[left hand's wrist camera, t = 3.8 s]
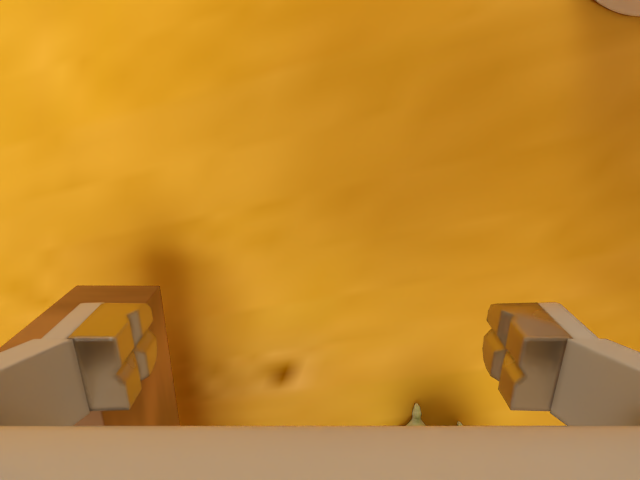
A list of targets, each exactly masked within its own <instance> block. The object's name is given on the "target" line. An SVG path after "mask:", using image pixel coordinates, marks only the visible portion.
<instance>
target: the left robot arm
mask: <svg viewBox="0 0 640 480" xmlns="http://www.w3.org/2000/svg"><path fill="white" fill-rule="evenodd" d="M595 1H596V2H598V3H599V4H601V5H602V6H604V7H606V8H608V9H610V10H612V11H615V12H617V13H621V14H625V15H630V16H640V0H595ZM152 322H153V316H152V311H151V307H150V306H149V305H148V304H144V303H104V302H97V303H80V304H79V305H78V306H77V307H76V308H75V309H74V310H72V311H71V312H70V313H69V314H68V315H67V316H66V317H65V318H64V319H62V320H61V321H60V322H59V323H58V324H57V325H56V326H55V327H54V328H52V329H51V330H50V331H49V332H48V333H47V334H46V335H45V336H44V337H42V338H41V339H32V340H30V341H27V342H25V343H22V344H20V345H17V346H15V347H12V348H10V349H7V350H5V351H2V352H0V480H640V352H638V351H635V350H633V349H630V348H628V347H625V346H623V345H620V344H618V343H615V342H613V341H610V340H608V339H599V338H598V337H596V336H595V335H594V334H593V333H592V332H591V331H590V330H589V329H588V328H586V327H585V326H584V325H583V324H582V323H581V322H580V321H579V320H578V319H577V318H575V317H574V316H573V315H572V314H571V313H570V312H569V311H568V310H567V309H565V308H564V307H563V306H562V305H561V304H559V303H556V302H549V303H503V304H492V305H491V306H490V308H489V310H488V315H487V322H488V323H489V325H490V326H491V328H492V329H491V330H490V331H489V332H488V333H487V334H486V335H485V336H484V341H483V358H484V363H485V366H486V369H487V371H488V372H489V374H490V376H492V377H493V378H495V379H496V380H498V381H499V387H498V390H499V391H500V393H501V395H502V396H503V398H504V400H505V401H506V403H507V405H508V406H509V408H510V410H528V411H550V413H551V414H552V415H554V416H555V417H556V418H558V419H559V420H560V421H562V422H563V423H564V424H566V425H567V426H73V425H74V424H76V423H77V422H78V421H80V420H81V419H83V418H84V417H85V416H87V415H88V414H89V413H90V411H111V410H130V408H131V406H132V405H133V403H134V401H135V400H136V398H137V396H138V395H139V393H140V391H141V390H142V387H141V381H142V380H144V379H145V378H147V377H148V376H150V374H151V372H152V370H153V369H154V366H155V362H156V358H157V340H156V336H155V335H154V334H153V333H152V332H151V331H150V330H149V329H148V328H149V326H150V325H151V323H152Z"/></svg>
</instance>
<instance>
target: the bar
mask: <svg viewBox="0 0 640 480" xmlns="http://www.w3.org/2000/svg"><path fill="white" fill-rule="evenodd" d="M97 302H104V303H144V304H148V305H149V306H150V307H151V311H152V316H153V322H152V323H151V325H150V326H149V328H148V329H149V330H150V331H151V332H152V333H153V334H154V335H155V336H156V340H157V358H156V362H155V366H154V369H153V370H152V372H151V374H150V376H148V377H147V378H145V379H144V380H142V381H141V387H142V390H141V391H140V393H139V395H138V396H137V398H136V400H135V401H134V403H133V405H132V406H131V408H130V410H111V411H90V413H89V414H88V415H87V416H85V417H84V418H83V419H81V420H80V421H78V422H77V423H76V424H74V425H73V426H180V424H179V417H178V410H177V403H176V396H175V389H174V382H173V375H172V368H171V361H170V354H169V347H168V340H167V333H166V327H165V320H164V313H163V306H162V299H161V292H160V286H76V287H75V288H73V289H72V290H71V291H70V292H68V293H67V294H66V295H65V296H63V297H62V298H61V299H60V300H58V301H57V302H56V303H55V304H54V305H52V306H51V307H50V308H49V309H47V310H46V311H45V312H44V313H42V314H41V315H40V316H39V317H37V318H36V319H35V320H34V321H32V322H31V323H30V324H29V325H28V326H26V327H25V328H24V329H23V330H21V331H20V332H19V333H18V334H16V335H15V336H14V337H13V338H11V339H10V340H9V341H8V342H6V343H5V344H4V345H3V346H2V347H0V352H2V351H5V350H7V349H10V348H12V347H15V346H17V345H20V344H22V343H25V342H27V341H30V340H32V339H41V338H42V337H44V336H45V335H46V334H47V333H48V332H49V331H50V330H51V329H52V328H54V327H55V326H56V325H57V324H58V323H59V322H60V321H61V320H62V319H64V318H65V317H66V316H67V315H68V314H69V313H70V312H71V311H72V310H74V309H75V308H76V307H77V306H78V305H79V304H80V303H97Z"/></svg>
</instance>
